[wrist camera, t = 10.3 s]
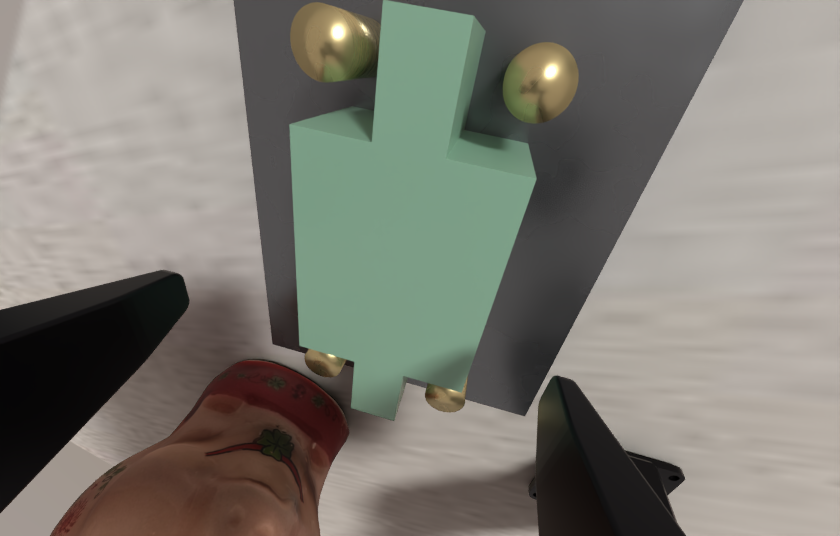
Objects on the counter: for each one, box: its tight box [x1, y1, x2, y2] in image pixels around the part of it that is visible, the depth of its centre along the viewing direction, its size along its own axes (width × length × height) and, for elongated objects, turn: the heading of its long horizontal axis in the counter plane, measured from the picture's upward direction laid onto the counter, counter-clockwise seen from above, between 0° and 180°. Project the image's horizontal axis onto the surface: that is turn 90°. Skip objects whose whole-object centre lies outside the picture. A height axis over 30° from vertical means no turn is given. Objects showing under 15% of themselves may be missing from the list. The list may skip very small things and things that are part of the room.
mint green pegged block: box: [289, 0, 537, 421], centre depth 12 cm, size 6×13×4 cm, turn 171°
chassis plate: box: [234, 0, 744, 416], centre depth 13 cm, size 14×18×4 cm
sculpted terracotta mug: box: [50, 360, 349, 536], centre depth 19 cm, size 20×12×14 cm, turn 149°
